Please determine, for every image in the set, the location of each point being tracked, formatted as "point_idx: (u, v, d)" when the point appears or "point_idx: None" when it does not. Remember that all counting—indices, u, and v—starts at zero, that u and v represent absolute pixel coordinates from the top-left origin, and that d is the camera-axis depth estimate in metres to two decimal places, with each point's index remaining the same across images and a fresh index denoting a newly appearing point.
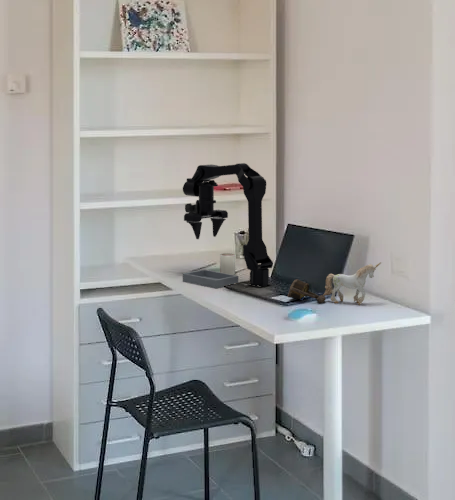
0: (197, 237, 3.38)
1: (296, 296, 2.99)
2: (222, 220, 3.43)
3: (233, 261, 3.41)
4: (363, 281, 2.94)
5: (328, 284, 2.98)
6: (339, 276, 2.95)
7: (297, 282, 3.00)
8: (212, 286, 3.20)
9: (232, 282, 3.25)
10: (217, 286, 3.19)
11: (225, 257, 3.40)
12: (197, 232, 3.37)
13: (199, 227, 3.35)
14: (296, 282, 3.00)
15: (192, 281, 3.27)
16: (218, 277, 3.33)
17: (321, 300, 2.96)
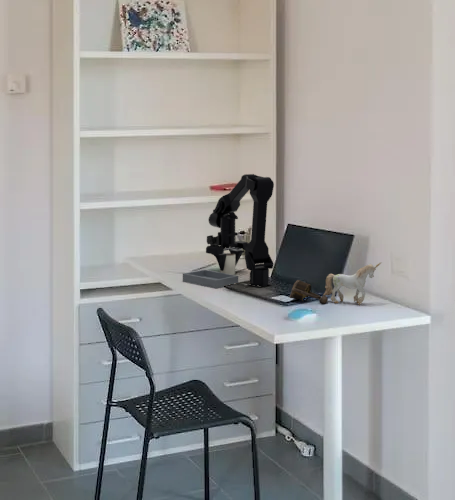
0: (221, 269, 3.41)
1: (298, 297, 2.98)
2: (241, 252, 3.44)
3: (233, 261, 3.41)
4: (363, 281, 2.94)
5: (328, 284, 2.98)
6: (339, 276, 2.95)
7: (299, 283, 2.99)
8: (212, 286, 3.20)
9: (232, 282, 3.25)
10: (217, 286, 3.19)
11: None
12: (221, 264, 3.40)
13: (224, 259, 3.38)
14: (298, 282, 2.99)
15: (192, 281, 3.27)
16: (218, 277, 3.33)
17: (324, 301, 2.96)
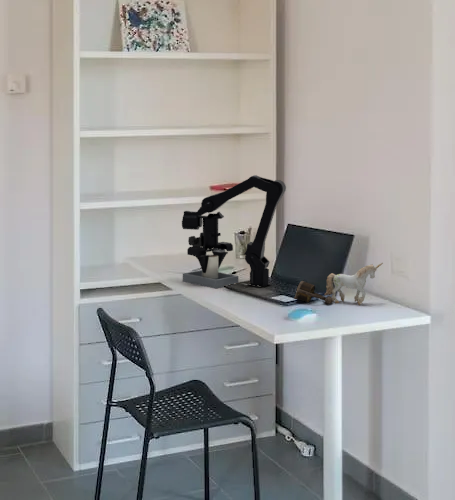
0: (204, 271, 3.26)
1: (303, 298, 2.96)
2: (224, 254, 3.29)
3: (216, 263, 3.26)
4: (363, 281, 2.93)
5: (329, 284, 2.98)
6: (339, 276, 2.96)
7: (304, 284, 2.97)
8: (212, 286, 3.20)
9: (232, 282, 3.25)
10: (217, 286, 3.19)
11: None
12: (204, 266, 3.24)
13: (206, 261, 3.23)
14: (303, 283, 2.97)
15: (192, 281, 3.27)
16: (218, 277, 3.33)
17: (329, 301, 2.95)
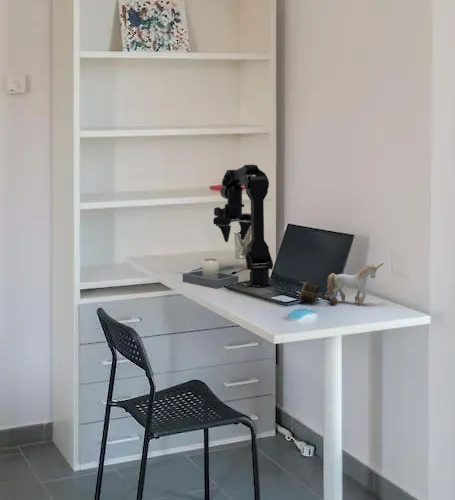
0: (226, 240, 3.47)
1: (307, 299, 2.95)
2: (250, 223, 3.52)
3: (216, 267, 3.26)
4: (364, 281, 2.93)
5: (329, 284, 2.98)
6: (340, 276, 2.96)
7: (308, 285, 2.96)
8: (212, 286, 3.20)
9: (232, 282, 3.25)
10: (217, 286, 3.19)
11: (207, 262, 3.25)
12: (226, 235, 3.46)
13: (228, 230, 3.44)
14: (307, 284, 2.96)
15: (192, 281, 3.27)
16: (218, 277, 3.33)
17: (334, 302, 2.94)
